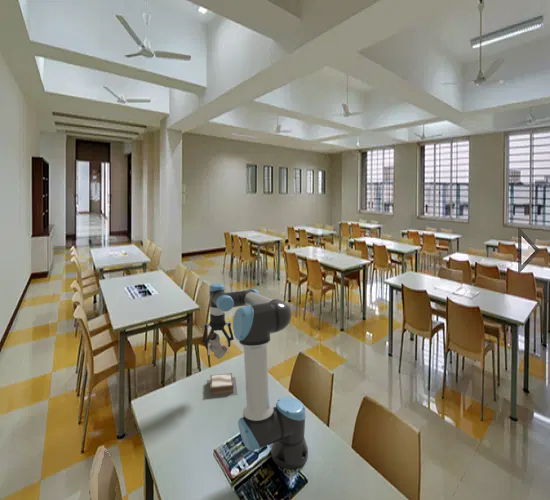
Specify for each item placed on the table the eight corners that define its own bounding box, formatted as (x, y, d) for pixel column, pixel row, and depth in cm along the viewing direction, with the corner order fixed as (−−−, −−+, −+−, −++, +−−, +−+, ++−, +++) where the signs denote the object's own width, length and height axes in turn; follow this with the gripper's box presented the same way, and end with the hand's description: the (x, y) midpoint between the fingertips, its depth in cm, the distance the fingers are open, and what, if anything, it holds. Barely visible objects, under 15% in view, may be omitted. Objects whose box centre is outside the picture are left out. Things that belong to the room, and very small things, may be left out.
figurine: (206, 355, 167) (205, 329, 165) (224, 351, 172) (224, 326, 169) (210, 363, 160) (210, 336, 157) (229, 359, 164) (229, 332, 161)
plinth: (233, 392, 165) (233, 385, 164) (210, 395, 163) (210, 388, 162) (232, 379, 177) (231, 372, 176) (210, 381, 174) (210, 374, 174)
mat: (237, 395, 164) (237, 394, 164) (206, 398, 160) (206, 398, 160) (235, 377, 179) (235, 377, 179) (207, 380, 176) (206, 380, 176)
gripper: (237, 309, 167) (237, 347, 171) (196, 311, 163) (197, 351, 167) (239, 314, 160) (239, 354, 164) (195, 317, 155) (197, 358, 159)
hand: (218, 353), depth 165 cm, fingers closed on figurine, 9 cm apart
